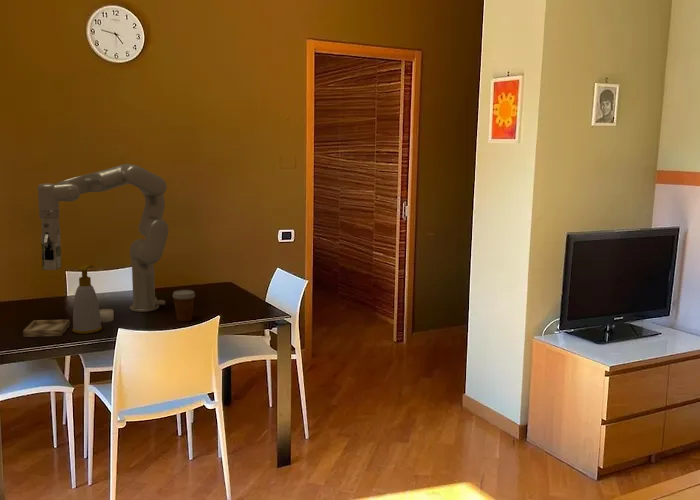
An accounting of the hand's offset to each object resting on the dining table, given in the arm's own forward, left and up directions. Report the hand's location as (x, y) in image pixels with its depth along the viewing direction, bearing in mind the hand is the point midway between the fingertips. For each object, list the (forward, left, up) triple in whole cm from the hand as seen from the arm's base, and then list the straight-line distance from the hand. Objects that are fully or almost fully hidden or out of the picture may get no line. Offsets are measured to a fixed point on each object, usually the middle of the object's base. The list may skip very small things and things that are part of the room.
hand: (51, 257), depth 277 cm
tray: (0, +11, -28) cm, 30 cm away
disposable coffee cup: (-52, -1, -28) cm, 59 cm away
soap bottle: (-15, +11, -28) cm, 34 cm away
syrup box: (0, 0, -5) cm, 5 cm away
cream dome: (-19, -3, -28) cm, 34 cm away
